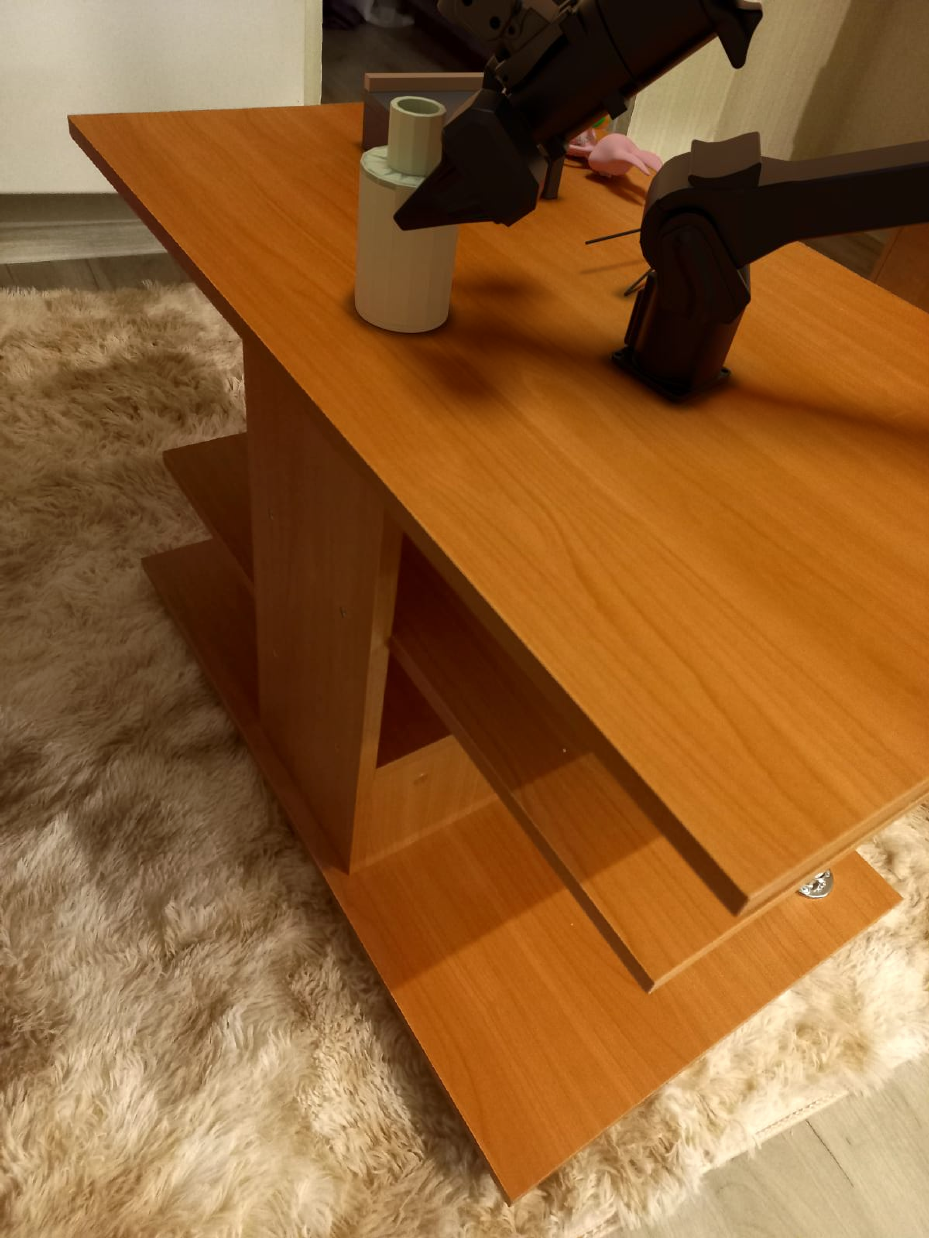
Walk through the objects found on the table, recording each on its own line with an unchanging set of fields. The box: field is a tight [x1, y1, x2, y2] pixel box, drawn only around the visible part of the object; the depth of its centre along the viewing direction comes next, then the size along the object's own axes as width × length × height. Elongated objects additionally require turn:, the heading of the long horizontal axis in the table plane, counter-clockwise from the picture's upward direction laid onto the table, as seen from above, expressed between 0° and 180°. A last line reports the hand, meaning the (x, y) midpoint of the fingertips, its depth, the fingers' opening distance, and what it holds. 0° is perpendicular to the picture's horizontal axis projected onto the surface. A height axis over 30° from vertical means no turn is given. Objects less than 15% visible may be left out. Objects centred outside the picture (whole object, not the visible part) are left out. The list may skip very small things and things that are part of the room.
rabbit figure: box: [565, 115, 663, 179], centre depth 85 cm, size 6×6×15 cm
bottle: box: [354, 96, 460, 334], centre depth 59 cm, size 7×7×14 cm
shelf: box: [361, 72, 567, 200], centre depth 80 cm, size 14×14×6 cm
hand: (415, 196), depth 58 cm, fingers open, 9 cm apart
